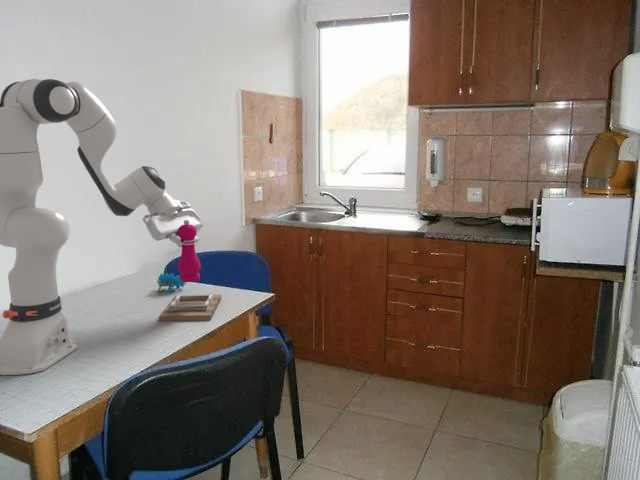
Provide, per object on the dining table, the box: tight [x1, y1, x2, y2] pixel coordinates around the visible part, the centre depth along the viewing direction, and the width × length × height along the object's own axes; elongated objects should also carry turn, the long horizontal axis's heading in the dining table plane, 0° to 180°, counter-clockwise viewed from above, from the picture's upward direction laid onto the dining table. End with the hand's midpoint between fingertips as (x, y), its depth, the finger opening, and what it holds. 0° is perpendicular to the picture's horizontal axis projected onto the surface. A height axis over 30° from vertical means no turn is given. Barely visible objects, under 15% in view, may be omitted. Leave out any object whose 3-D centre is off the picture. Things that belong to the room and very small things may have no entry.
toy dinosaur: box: [156, 272, 187, 293], centre depth 195 cm, size 11×6×10 cm
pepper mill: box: [177, 220, 202, 283], centre depth 171 cm, size 7×7×20 cm
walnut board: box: [158, 294, 222, 322], centre depth 174 cm, size 22×16×3 cm
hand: (189, 243), depth 170 cm, fingers closed on pepper mill, 5 cm apart
